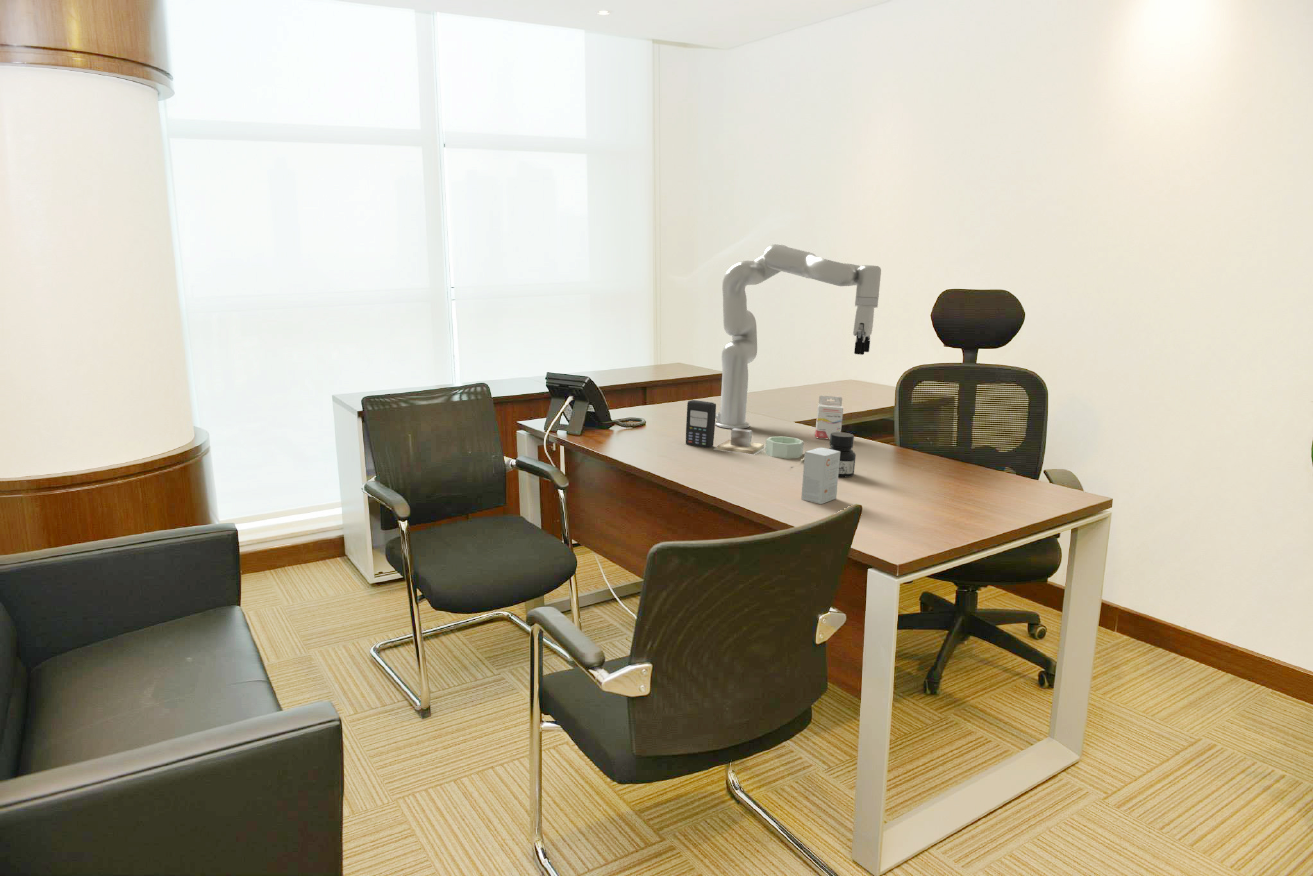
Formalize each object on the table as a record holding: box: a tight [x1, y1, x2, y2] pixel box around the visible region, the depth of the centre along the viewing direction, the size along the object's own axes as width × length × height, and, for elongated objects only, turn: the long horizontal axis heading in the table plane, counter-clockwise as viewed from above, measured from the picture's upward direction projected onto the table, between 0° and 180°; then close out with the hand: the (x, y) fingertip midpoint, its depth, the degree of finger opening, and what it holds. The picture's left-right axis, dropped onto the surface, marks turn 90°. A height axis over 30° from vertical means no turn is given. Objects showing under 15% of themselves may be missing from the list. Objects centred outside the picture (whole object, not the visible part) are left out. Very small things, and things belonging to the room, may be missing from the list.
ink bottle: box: [828, 431, 857, 478], centre depth 252 cm, size 10×9×12 cm
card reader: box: [685, 399, 717, 449], centre depth 279 cm, size 9×4×15 cm, turn 62°
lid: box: [716, 428, 765, 455], centre depth 279 cm, size 12×12×6 cm
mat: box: [712, 445, 766, 456], centre depth 280 cm, size 14×14×1 cm
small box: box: [801, 447, 840, 505], centre depth 225 cm, size 8×6×13 cm
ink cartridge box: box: [814, 395, 844, 439], centre depth 303 cm, size 9×5×15 cm, turn 84°
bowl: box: [764, 435, 804, 459], centre depth 274 cm, size 11×11×5 cm
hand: (861, 352), depth 294 cm, fingers open, 9 cm apart
